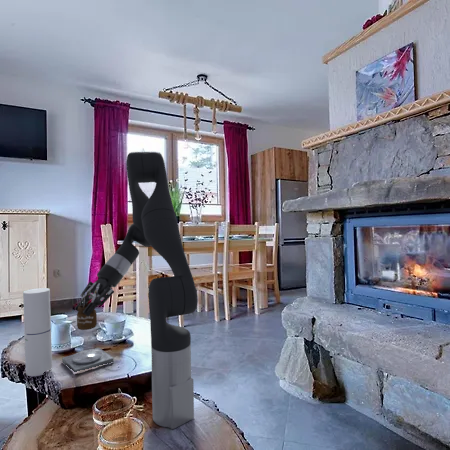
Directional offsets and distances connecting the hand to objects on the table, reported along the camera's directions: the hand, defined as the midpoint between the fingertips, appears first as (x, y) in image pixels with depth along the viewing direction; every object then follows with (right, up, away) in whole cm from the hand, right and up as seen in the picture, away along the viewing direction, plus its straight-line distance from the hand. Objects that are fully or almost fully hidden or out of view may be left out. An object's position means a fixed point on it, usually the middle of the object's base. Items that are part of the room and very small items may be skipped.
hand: (81, 312), depth 107 cm
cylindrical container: (-12, -17, -3) cm, 21 cm away
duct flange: (+1, -17, +2) cm, 17 cm away
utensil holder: (+1, -5, +1) cm, 6 cm away
